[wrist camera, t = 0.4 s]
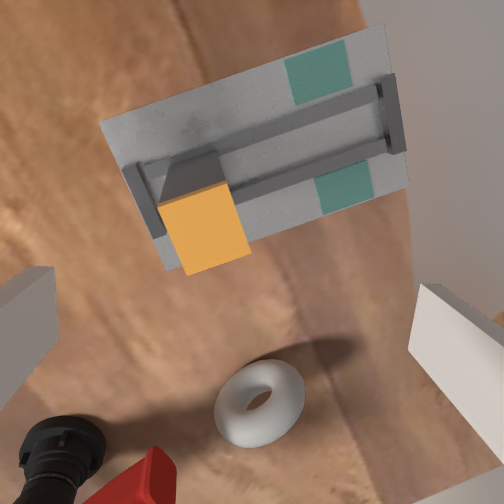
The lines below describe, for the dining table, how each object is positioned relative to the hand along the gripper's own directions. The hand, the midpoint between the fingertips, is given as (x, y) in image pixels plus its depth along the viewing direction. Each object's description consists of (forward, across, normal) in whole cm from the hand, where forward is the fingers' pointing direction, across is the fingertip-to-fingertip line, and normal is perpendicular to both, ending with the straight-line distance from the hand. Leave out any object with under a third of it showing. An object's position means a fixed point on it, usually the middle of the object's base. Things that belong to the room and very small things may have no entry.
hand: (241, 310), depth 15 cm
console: (+24, +2, +5) cm, 25 cm away
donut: (+27, +3, -19) cm, 33 cm away
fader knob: (+22, -3, +2) cm, 22 cm away
